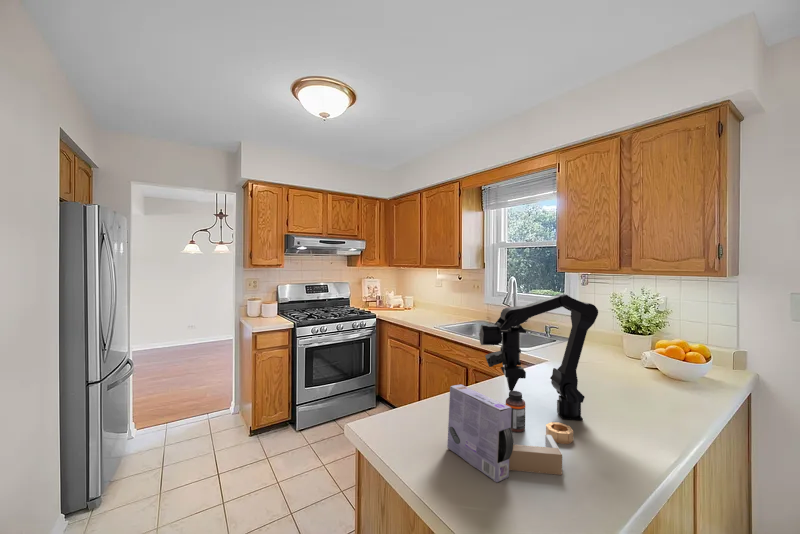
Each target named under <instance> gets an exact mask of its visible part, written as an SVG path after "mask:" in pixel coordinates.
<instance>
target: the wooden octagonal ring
mask: <svg viewBox="0 0 800 534" xmlns="http://www.w3.org/2000/svg"><path fill="white" fill-rule="evenodd" d="M546 435H551V436H552V437H553V439H554V441H555V443H556V444H561V445H562V444H563V445H569V444H571V443H573V442H574V429H572V427H571V426H570V425H567V424H565V423H562V422H556V421H555V422H554V421H552V422H548V423H547V424H545V436H546Z"/></svg>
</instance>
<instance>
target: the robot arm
mask: <svg viewBox="0 0 800 534" xmlns="http://www.w3.org/2000/svg"><path fill="white" fill-rule="evenodd" d="M560 308H563V309H565V310H567V311H570V320H571V321H570V322H571V328H570V332H569V336H568V339H567V344H566V346H565V351H564V355H563V358H562V362H561V365H560V366H559V367H558V368H555V367H554V368H553V369H552V374H551V376H550V378H549V379H550V380H551V381H550V382H551V385H552V387H553V389H555V390H556V393H557V394H559V395H558V399H557V400H556V412H557V413H558V415H559V416H560V417H561V419H562V420H575V421H583V419H584V418H583V417H582V404H583V403H584V400H585V395H584V394H583V393H582V392H581V391H579V390H578V382H579V381H578V380H579V379H578V373H577V370H578V365H579V362H580V358H581V356H582V351H583V347H584V344H585V341H586V336H587V334H588V331H589V330H590V328H591V327H592V326H593V325H594V324H595V322H596V320H597V317H598V315H599V309H598V308H597V307H596V306H595V304H593V303H588V302H584V301H580V300H578V299H576V298H574V297H571V296H569V295H568V294H564V293H557V294H555V295H553V296H550V297H547V298H544V299H541V300H538V301H535V302H532V303H529V304H526V305H518V306H509V307H505V308H503V309H502V310H501V312H500V317H499V318H497V321H495V323H494V325H493V324H492V325H489V324H487V325H486V324H481V326H480V330H479V334H478V335H479V337H478V338H479V343H480V346H499V344H502V345H501V347H500V350H497V351H492V352H491V353H487V354H485V355H484V357H485V360H486V363H487V365H488V367H489V368H492V367H494V366H497V365H499V364H502V366H500V369H501V372H502V373H503V375H504V378H506V381H507V386H508V390H509V392H510V391H514V389H515V387H516V384H517V383H518V381H519V379H526V378H527V376H526V375H527V372H526V370H525V369H524V368H523V367H522V366H521V365H522V362H521V356H520V355H521V353H522V350H521V348H520V345H521V344H520V343H521V342H520V340H521V337H520V335H521V334H522V333H527V330H526V329H524V328H523V326H522V324H524V323H526V322H527V321H528V320H529V319H531V318H532V317H535V316H538V315H542V314H544V313H547V312H550V311H553V310H556V309H560Z"/></svg>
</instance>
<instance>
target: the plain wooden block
mask: <svg viewBox="0 0 800 534" xmlns="http://www.w3.org/2000/svg"><path fill="white" fill-rule="evenodd" d="M544 436H545V439H544V440H545V446H536V445H535V446H534V445H524V444H513V451H512V454H511V456H510V458H509V471H517V472H525V473H526V472H529V473H537V474H538V473H539V474H545V475H546V474H548V475H549V474H550V475H560V476H561V475H563V453H562V451H561V450H560V448H559V446H558V443H556V442H555V441H554V439H553V437H552V436H551V435H546V434H545V435H544Z"/></svg>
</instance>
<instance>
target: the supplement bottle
mask: <svg viewBox="0 0 800 534" xmlns="http://www.w3.org/2000/svg"><path fill="white" fill-rule="evenodd" d="M505 405H507V406H509V407H511V408H512V411H511V430H512V432H514V433H521V432H524V431H525V430H526V401H525V400H524V399H523V393H522V392H521V391H517V390H513V391H510V390H509V392H508V397H507V398H506V399H505Z"/></svg>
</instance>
